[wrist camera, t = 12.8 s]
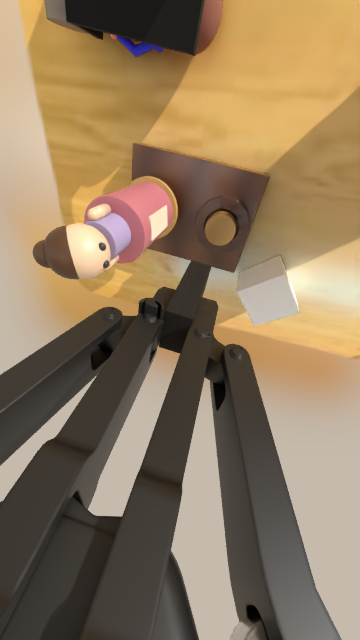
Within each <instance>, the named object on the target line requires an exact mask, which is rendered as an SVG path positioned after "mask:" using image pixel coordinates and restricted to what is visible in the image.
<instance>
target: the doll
mask: <svg viewBox="0 0 360 640" xmlns="http://www.w3.org/2000/svg"><path fill="white" fill-rule="evenodd" d="M177 216H178V206H177V201H176V198H175V196H174V194H173V192H172V190H171V189H170V188H169V186H168V185H167V184H166V183H164V182H163V181H162V180H160V179H158V178H156V177H152V176H144V177H140V178H137V179H135V180H133V181H132V182H131V183H130V184H129V185H128V187H126V188H123V189H121V190H118V191H115V192H112V193H109V194H106V195H103V196H100V197H98V198H96V199H94V200H93V201H92V202H91V203H90V204H89V206H88V208H87V210H86V213H85V223H84V224H81V223H76V224H70V225H68V226H62V227H58V228H56V229H54V230H53V231H51V232H50V233H49V234H48V236H47V237H46V239H45V240H42V241H40V242H38V243H37V244H36V245H35V246H34V248H33V256H34V258H35V260H36V262H37V263H38V264H40V265H41V266H43V267H46V268H51V269H52V270H53V271H54V272H55V273H57V274H58V275H60V276H62V277H65V278H68V279H91V278H94V277H97V276H99V275H100V274H102V273H103V272H104V271H105V270H108V269H109V268H110V267H111V266H113V265H114V264H115V263H116V262H118V263H128V262H131V261H133V260H135V259H136V258H137V257H139V256H140V255H141V254H142V253H143V252H144V251H145V250H146V249H147V248H148V247H149V246H150V245H151V244H152V243H153V242H154V241H155V240H156V239H159V238H162V237H164V236H165V235H167V234H168V233H169V232H170V231H171V230H172V229H173V227H174V226H175V223H176V221H177Z"/></svg>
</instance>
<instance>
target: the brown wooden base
mask: <svg viewBox="0 0 360 640" xmlns="http://www.w3.org/2000/svg"><path fill="white" fill-rule="evenodd" d="M144 176H152V177H156V178H158V179H160V180H162V181H163V182H164V183H166V184H167V185H168V186H169V188H170V189H171V190H172V192H173V194H174V196H175V198H176V201H177V206H178V216H177V221H176V223H175V226H174V227H173V229H172V230H171V231H170V232H169V233H168V234H167V235H165V236H164V237H162V238H159V239H156V240H155V241H154V242H153V243H152V244H151V245H150V246H149V247H148V248H149V249H152V250H156V251H159V252H163V253H166V254H170V255H173V256H177V257H181V258H184V259H188V260H193V261H197V262H200V263H204V264H207V265H211V266H212V267H216V268H219V269H223V270H226V271H230V272H233V273H234V272H235V269H236V266H237V263H238V261H239V258H240V255H241V253H242V250H243V247H244V245H245V242H246V239H247V236H248V234H249V231H250V228H251V226H252V223H253V220H254V217H255V215H256V212H257V209H258V207H259V204H260V201H261V198H262V196H263V193H264V190H265V188H266V185H267V182H268V179H269V174H265V173H261V172H257V171H253V170H249V169H245V168H241V167H237V166H233V165H229V164H224V163H220V162H216V161H212V160H208V159H204V158H200V157H196V156H192V155H188V154H183V153H179V152H175V151H171V150H167V149H163V148H159V147H155V146H151V145H146V144H142V143H133V161H132V181H133V180H135V179H137V178H140V177H144ZM218 211H227V212H229V213H231V214H232V215H233V216H234V218H235V220H236V224H237V227H236V232H235V235H234V237H233V239H232V240H231V241H230V242H229V243H228V244H226V245H222V246H218V245H214V244H212V243H211V242H209V240H208V239H207V238H206V235H205V226H206V223H207V221H208V220H209V218H210V217H211V215H212V214H214V213H215V212H218Z"/></svg>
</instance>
